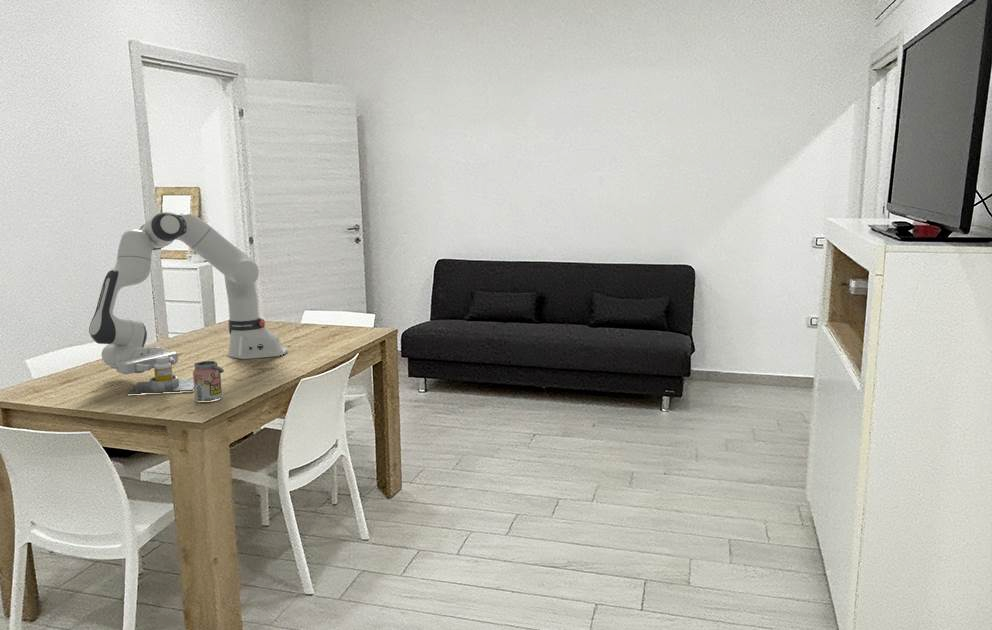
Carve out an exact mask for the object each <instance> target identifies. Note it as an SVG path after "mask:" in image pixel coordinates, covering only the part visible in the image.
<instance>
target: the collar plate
mask: <svg viewBox="0 0 992 630" xmlns="http://www.w3.org/2000/svg"><path fill="white" fill-rule="evenodd" d="M172 375H173V374H172ZM193 389H194V380H193V378H189V379H180V378H179V376H177V375H173V379H172V380H168V381H155V376H154V377H152V378H149V381H138V382H136V383H135V384H134V385H133V386H132V388H130V389H129V391H128V392H127V393H126V394H127V395H128V394H141V393H163V392H180V391H193ZM193 392H194V391H193Z"/></svg>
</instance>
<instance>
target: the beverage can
mask: <svg viewBox="0 0 992 630" xmlns="http://www.w3.org/2000/svg"><path fill="white" fill-rule="evenodd" d="M223 373H224V369H223V368H222V367H220V366H218V362H217V361H215V360H205V361H198V362H194V370H193V371H192V379H193V380H194V391H193V393H194V400H195V401H196V400H197V401H211V400H215V399H219V398H221V397H222V398H223V390H222V377H221V374H223ZM222 398H221V399H222ZM197 401H196V402H197Z"/></svg>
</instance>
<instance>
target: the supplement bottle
mask: <svg viewBox="0 0 992 630" xmlns="http://www.w3.org/2000/svg"><path fill="white" fill-rule="evenodd" d="M168 361H169V357H168V356H160V357H156V362H157V364H155V366H154V368H153V371H154V377H155V381H168V380H172V379H173V365H171V363H169V362H168Z"/></svg>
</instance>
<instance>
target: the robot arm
mask: <svg viewBox="0 0 992 630" xmlns="http://www.w3.org/2000/svg"><path fill="white" fill-rule="evenodd" d="M175 240H177V241H180V242H182V243H184V244H185V245H186V246H188V248H190V249H191V250H192V251H193V252H195V253H196V254H197V255H198V256H199V257H201V258H202V259H203V260H205V262H207V263H208V264H210V265H211V267H214V268H215V269H216V270H218V271H219V272H220V273H221V274H222V275H224V281H225V289H226V295H227V300H228V301H227V302H228V304H227V305H228V313H229V314H228V315H229V316H228V317H229V319H228V332H229V333H228V334H229V344H228V345H229V346H228V351H227V356H228V357H230V358H235V359H239V360H250V359H262V358H271V357H272V358H273V357H280V355H281V356H284V355H286V354H287V352H288V350H287V347H285V346H282V344H281V340H280V337H279V336H278V334H276V333H274V332H273V331H271V330H269V328H266V327H265V325H266V322H265V318H260V314H259V299H258V295H257V291H256V290H257V289H256V285H255V282H256V281H257V280H258V279H259V275H260V270H259V265H258V264H257V263H256V261H254V260H253V259H252V258H251V257H249V256H248V255H247V254H245V252H243V251H242V250H241V249H240V248H238V247H236V246H235V245H234V244H233V242H230V241H229V240H228V239H227V238H226V237H224V235H222V234H221V233H219V232H218V231H217V230H215V228H213V227H212V226H211V225H209V224H208V223H207V222H206V221H204V220H203V219H202V218H200V217H199V216H196V215H195V214H193V213H191V212H189V211H188V212H187V211H186V212H185V211H184V212H181V213H180V214H176V213H173V212H168V211H163V212H159V213H157V214H155V215H154V216H152V217H150V218H149V219H148V220H146V222H145V223H144V224H142V225H141V226H140V227H139V229H129V230H126V231H125V232H123V234H122V235H121V239H120V240H119V241H120V242H119V245H118V249H117V257H116V263H115V265H114V268H113V269H110V270H109V271H107V274H106V275H105V277H104V279H103V283H102V287H101V290H100V292H99V297H98V301H97V303H96V304H97V305H96V308H95V312H94V315H93V317H92V319H91V321H90V324H89V328H88V333H89V335H90V337H91V338H92V340H93V341H94V342H95V343H97V344H99V345H105V346H104V347H103V348H102V350H101V358H102V361H103V362H104V364H106V365H107V366H108V367H110V368H111V369H115V370H116V372H117V373H119V374H122V375H130V374H133V373H134V374H142V373H145V372H147V371H151V370H152V369H154V366H155V364H157V362H156V357H160V356H168V357H169V361H168V362H169V363H171V365H172V366H173V365H176V364H177V363H178V362H179V355H178V352H177V351H174V350H171V349H166V348H161V346H150V347H149V346H148V347H145V344H146V342H147V337H148V334H147V329H146V325H145V324H144V323H143V321H141V320H139V319H133V318H127V317H121V316H117V315H116V316H115V315H114V312H113V311H114V310H115V305H116V302H117V297H118V295H119V292H120V290H121V289H123V288H125V287H130V286H136V285H139V284H141V283H143V282H144V281H146V280H147V279H148V278H149V276H150V273H151V266H152V254H153V251H156V250H161V249H164V248H165V247H167V246H169V245H171V244H172V243H173V242H174V241H175ZM283 354H284V355H283Z"/></svg>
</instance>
